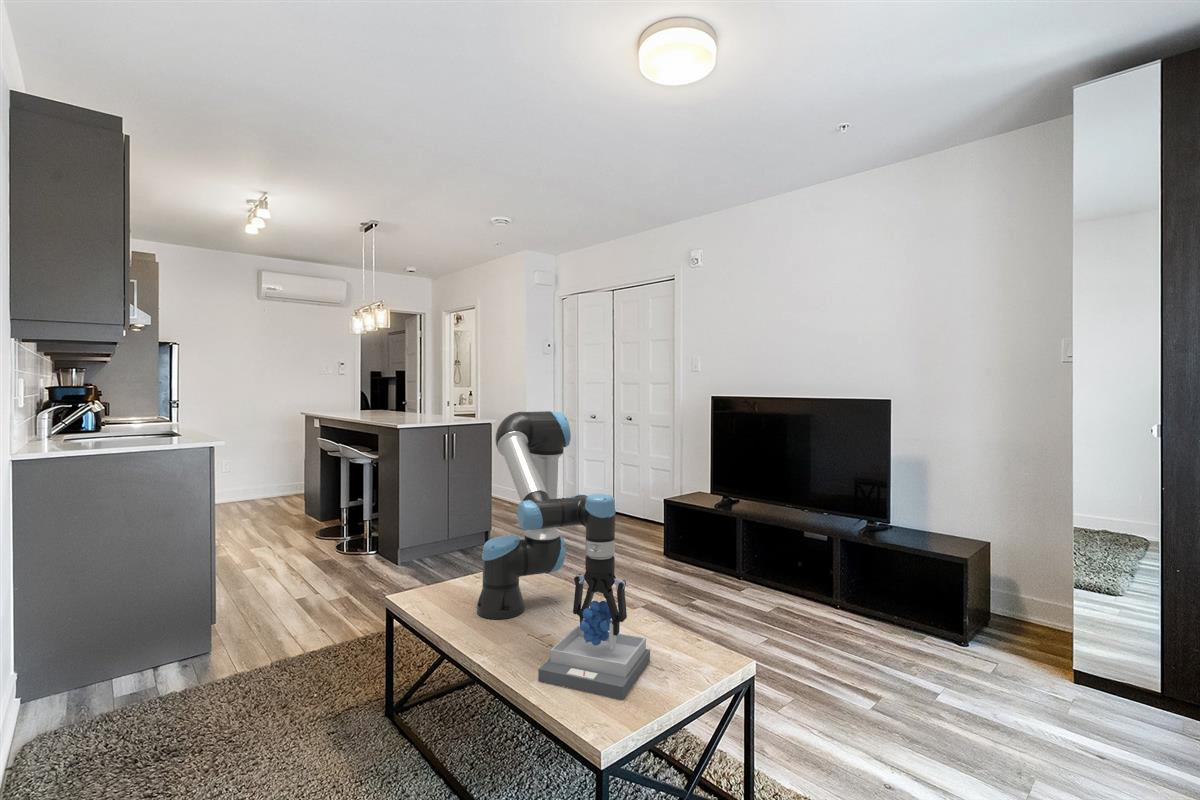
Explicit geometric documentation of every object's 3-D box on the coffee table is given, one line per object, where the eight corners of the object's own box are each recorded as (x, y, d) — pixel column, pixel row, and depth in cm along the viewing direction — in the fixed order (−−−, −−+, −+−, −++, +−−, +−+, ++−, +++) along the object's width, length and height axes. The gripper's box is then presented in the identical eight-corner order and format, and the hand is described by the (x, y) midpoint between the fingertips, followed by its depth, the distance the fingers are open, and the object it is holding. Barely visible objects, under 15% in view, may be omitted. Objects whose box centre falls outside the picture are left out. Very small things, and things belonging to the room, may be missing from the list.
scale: (538, 681, 141) (538, 656, 141) (574, 646, 160) (574, 624, 160) (622, 700, 132) (622, 673, 132) (650, 661, 152) (650, 638, 152)
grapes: (592, 658, 141) (593, 610, 141) (573, 648, 146) (575, 602, 146) (624, 644, 150) (625, 598, 149) (605, 635, 154) (607, 591, 154)
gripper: (559, 554, 148) (558, 643, 148) (631, 564, 141) (630, 657, 141) (571, 547, 155) (571, 632, 155) (641, 556, 147) (640, 645, 148)
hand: (599, 644), depth 148 cm, fingers closed on grapes, 7 cm apart
